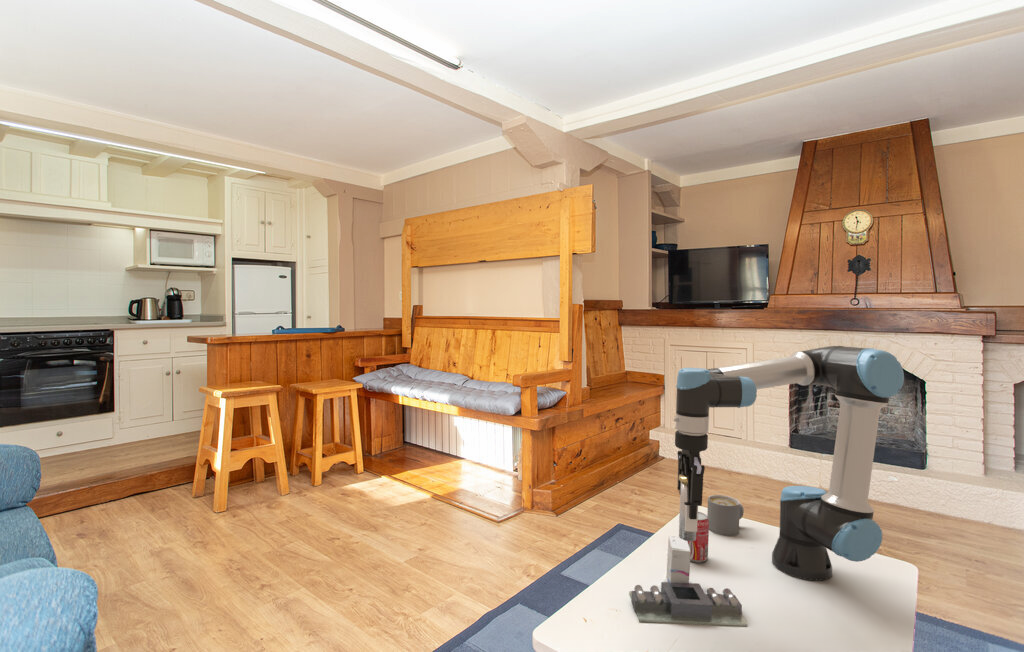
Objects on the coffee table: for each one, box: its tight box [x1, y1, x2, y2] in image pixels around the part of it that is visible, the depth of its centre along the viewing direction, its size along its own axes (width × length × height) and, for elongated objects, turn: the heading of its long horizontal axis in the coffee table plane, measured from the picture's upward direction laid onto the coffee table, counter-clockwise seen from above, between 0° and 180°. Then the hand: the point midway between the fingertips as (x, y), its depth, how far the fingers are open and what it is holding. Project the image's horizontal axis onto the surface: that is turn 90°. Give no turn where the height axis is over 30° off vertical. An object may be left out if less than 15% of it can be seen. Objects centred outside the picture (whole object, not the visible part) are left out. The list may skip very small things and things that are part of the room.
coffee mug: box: [706, 494, 745, 537], centre depth 173 cm, size 13×10×10 cm
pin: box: [678, 474, 696, 541], centre depth 125 cm, size 5×5×15 cm
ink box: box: [666, 535, 691, 583], centre depth 137 cm, size 9×5×12 cm, turn 169°
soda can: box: [687, 511, 710, 564], centre depth 152 cm, size 7×7×13 cm
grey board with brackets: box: [628, 581, 748, 627], centre depth 126 cm, size 26×12×4 cm, turn 88°
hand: (688, 526), depth 126 cm, fingers closed on pin, 4 cm apart
